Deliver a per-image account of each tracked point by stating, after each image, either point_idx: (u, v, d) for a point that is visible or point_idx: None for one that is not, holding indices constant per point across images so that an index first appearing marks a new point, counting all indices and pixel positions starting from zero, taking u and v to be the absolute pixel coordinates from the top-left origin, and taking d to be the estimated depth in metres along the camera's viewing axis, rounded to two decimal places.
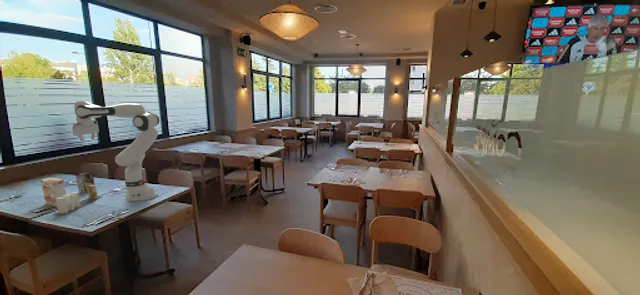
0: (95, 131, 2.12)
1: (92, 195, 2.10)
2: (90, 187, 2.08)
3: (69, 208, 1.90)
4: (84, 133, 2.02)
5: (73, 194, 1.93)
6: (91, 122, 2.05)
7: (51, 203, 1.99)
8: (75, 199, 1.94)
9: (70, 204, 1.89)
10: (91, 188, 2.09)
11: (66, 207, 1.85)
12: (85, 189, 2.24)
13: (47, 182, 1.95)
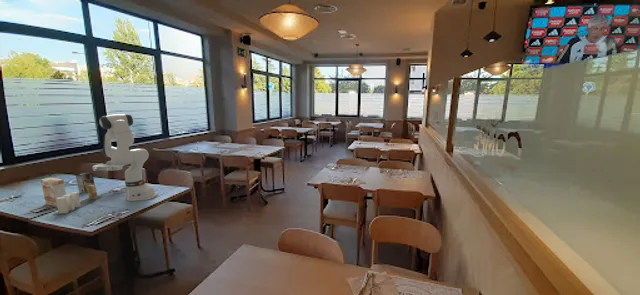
0: (113, 165, 2.25)
1: (92, 195, 2.10)
2: (90, 187, 2.08)
3: (69, 208, 1.90)
4: (100, 166, 2.24)
5: (73, 194, 1.93)
6: None
7: (51, 203, 1.99)
8: (75, 199, 1.94)
9: (70, 204, 1.89)
10: (91, 188, 2.09)
11: (66, 207, 1.85)
12: (85, 189, 2.24)
13: (47, 182, 1.95)
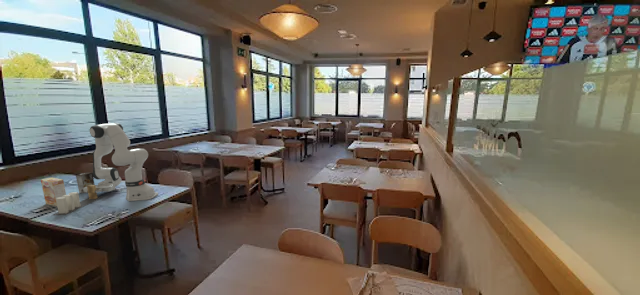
0: (105, 187, 2.15)
1: (92, 195, 2.10)
2: (90, 187, 2.08)
3: (69, 208, 1.90)
4: None
5: (73, 194, 1.93)
6: (105, 181, 2.22)
7: (51, 203, 1.99)
8: (75, 199, 1.94)
9: (70, 204, 1.89)
10: (91, 188, 2.09)
11: (66, 207, 1.85)
12: None
13: (47, 182, 1.95)
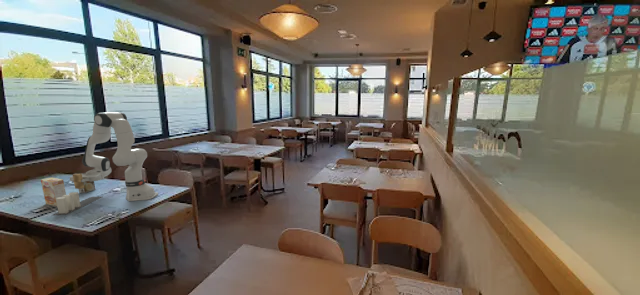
0: (92, 176, 2.03)
1: (78, 185, 1.97)
2: (76, 176, 1.96)
3: (69, 208, 1.90)
4: None
5: (73, 194, 1.93)
6: (92, 170, 2.09)
7: (51, 203, 1.99)
8: (75, 199, 1.94)
9: (70, 204, 1.89)
10: (77, 177, 1.96)
11: (66, 207, 1.85)
12: (85, 189, 2.24)
13: (47, 182, 1.95)
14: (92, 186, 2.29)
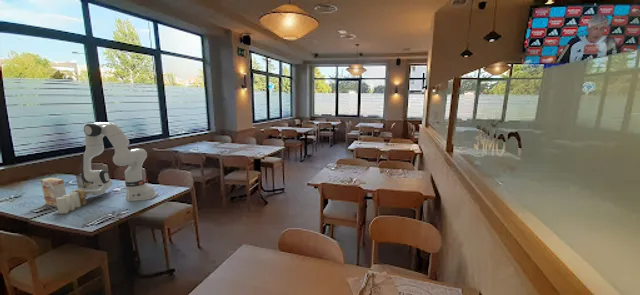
0: (94, 190, 2.04)
1: (80, 201, 1.99)
2: (78, 192, 1.98)
3: (69, 208, 1.90)
4: None
5: (73, 194, 1.93)
6: (94, 184, 2.11)
7: (51, 203, 1.99)
8: (75, 199, 1.94)
9: (70, 204, 1.89)
10: (79, 194, 1.98)
11: (66, 207, 1.85)
12: None
13: (47, 182, 1.95)
14: None
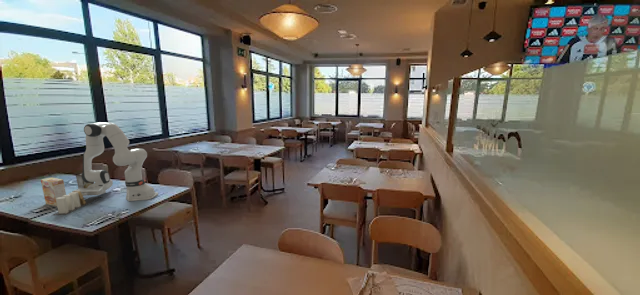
0: (94, 190, 2.05)
1: (80, 201, 1.98)
2: None
3: (69, 208, 1.90)
4: (80, 190, 2.04)
5: (73, 194, 1.93)
6: (94, 184, 2.11)
7: (51, 203, 1.99)
8: (75, 199, 1.94)
9: (70, 204, 1.89)
10: None
11: (66, 207, 1.85)
12: None
13: (47, 182, 1.95)
14: None
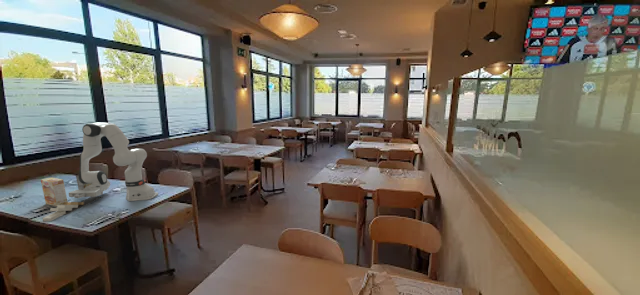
0: (91, 191, 2.02)
1: (77, 204, 1.96)
2: (68, 204, 1.90)
3: (67, 210, 1.88)
4: (77, 192, 2.01)
5: (62, 207, 1.84)
6: (91, 185, 2.08)
7: (51, 203, 1.99)
8: (68, 207, 1.88)
9: (64, 210, 1.85)
10: (71, 204, 1.91)
11: (60, 214, 1.81)
12: None
13: (47, 182, 1.95)
14: None
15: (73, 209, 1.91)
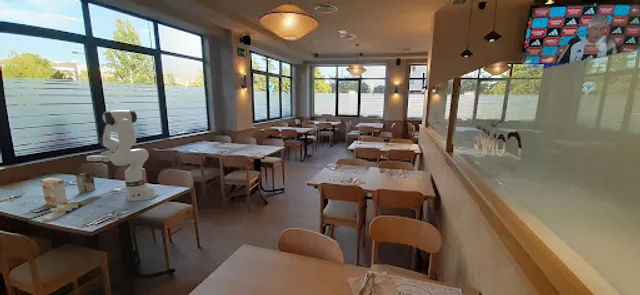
0: (107, 156, 2.20)
1: (77, 204, 1.96)
2: (68, 204, 1.90)
3: (67, 210, 1.88)
4: (94, 156, 2.20)
5: (62, 207, 1.84)
6: (107, 151, 2.27)
7: (51, 203, 1.99)
8: (68, 207, 1.88)
9: (64, 210, 1.85)
10: (71, 204, 1.91)
11: (60, 214, 1.81)
12: (85, 189, 2.24)
13: (47, 182, 1.95)
14: (92, 186, 2.29)
15: (73, 209, 1.91)
